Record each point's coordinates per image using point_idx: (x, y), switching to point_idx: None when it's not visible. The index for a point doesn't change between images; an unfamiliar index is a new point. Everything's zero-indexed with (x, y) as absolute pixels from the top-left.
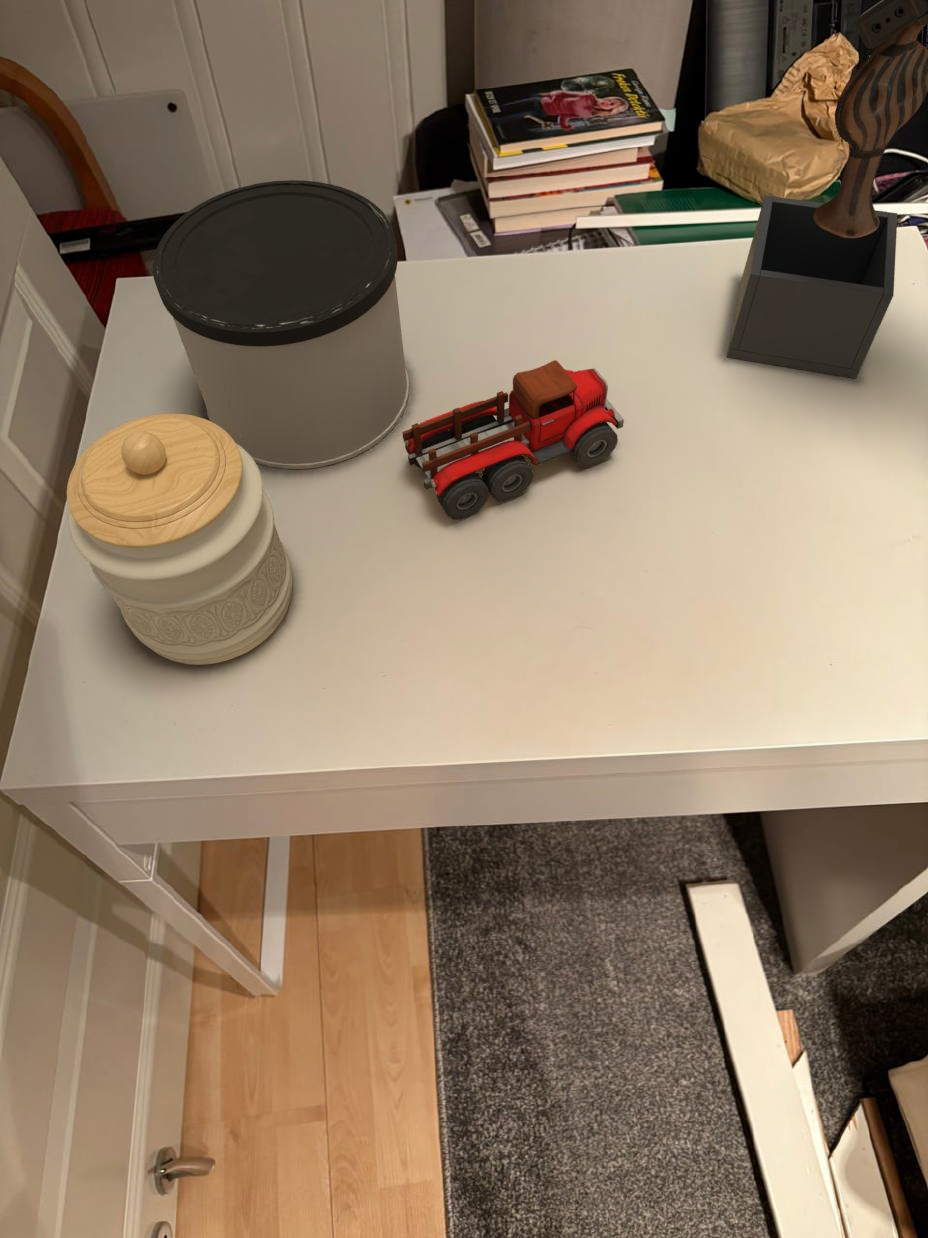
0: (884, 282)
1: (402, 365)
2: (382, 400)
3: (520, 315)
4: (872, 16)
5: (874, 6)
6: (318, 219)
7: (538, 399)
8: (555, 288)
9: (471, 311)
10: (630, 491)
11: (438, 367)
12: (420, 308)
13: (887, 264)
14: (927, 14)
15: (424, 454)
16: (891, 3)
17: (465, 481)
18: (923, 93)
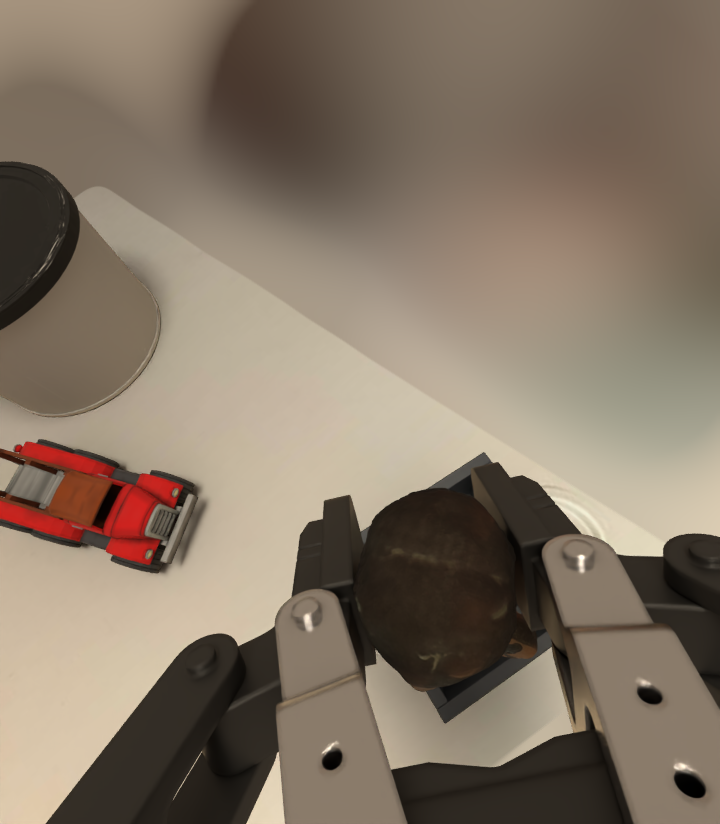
0: (457, 695)
1: (94, 375)
2: (51, 397)
3: (264, 377)
4: (311, 538)
5: (328, 523)
6: (22, 230)
7: (51, 513)
8: (316, 370)
9: (239, 346)
10: (139, 618)
11: (165, 381)
12: (214, 317)
13: (494, 672)
14: (194, 767)
15: (25, 466)
16: (309, 574)
17: (3, 520)
18: (509, 656)
